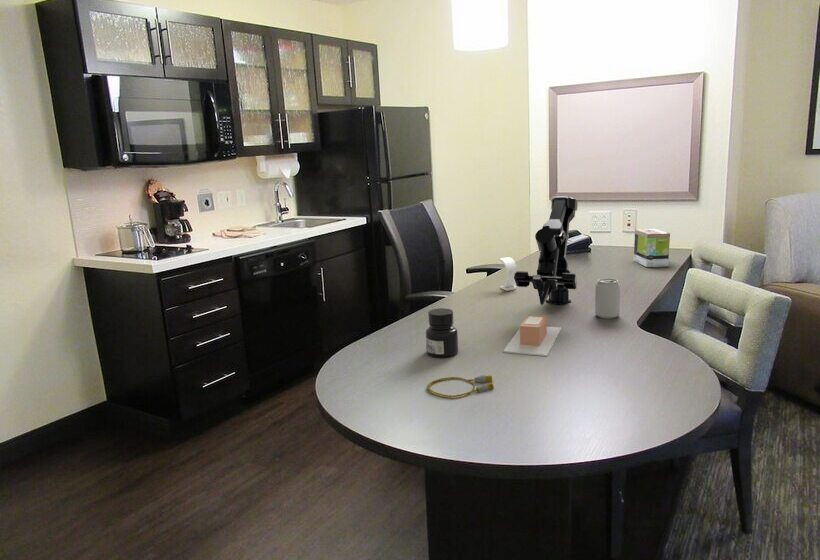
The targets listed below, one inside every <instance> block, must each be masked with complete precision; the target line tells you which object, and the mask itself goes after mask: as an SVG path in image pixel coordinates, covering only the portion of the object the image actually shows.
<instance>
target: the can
mask: <svg viewBox="0 0 820 560" xmlns="http://www.w3.org/2000/svg"><path fill="white" fill-rule="evenodd" d="M594 293H595V296H594V297H595V298H594V299H595V301H594V302H595V304H594V306H595V307H594V314H595V315H596V316H597V317H598V318H601V319H607V320H609V319H617V317H618V316H619V315H620V309H621V308H620V307H621V306H620V305H621V304H620V303H621V284H620V283H619V280H618V279H616V278H613V277H611V278H610V277H605V278H599V279H598V280H597V282H596V283H595V292H594Z"/></svg>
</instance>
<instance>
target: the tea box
mask: <svg viewBox="0 0 820 560" xmlns="http://www.w3.org/2000/svg"><path fill="white" fill-rule="evenodd" d="M670 240H671V233H670V232H668V231H666V230H665V231H664V230H661V229H659V228H646V229H645V228H640V229H638V228H637V229H635V230H634V244H633V245H634V248H633V261H634V262H636V263H638V264H640V265H642V266H644V267H646V268H661V267H664V268H665V267H668V266H669V260H670V258H669V257H670Z"/></svg>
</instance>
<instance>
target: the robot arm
mask: <svg viewBox="0 0 820 560" xmlns="http://www.w3.org/2000/svg"><path fill="white" fill-rule="evenodd" d="M550 208H551V212H550V215H549V219H548V221H546V222H545V223H543V225H542V227H541V228H540V229H539V230H538V231H537V232H536V233H535V235H534V236H535V237H534V238H535V241H536V244H537V248H538V251H540V252H539V258H538V263H537V264H538V265H537V269H536V274H533V275H529V272H528V271H521V270H520V271H519V270H518V271H517V272H516V273H515V274H514V280H515V282H516V284H515V286H516V287H518V288H519V287H520V288H528V287H529V286H530V284H531V283H532V287H533V289H534V290H536V291H537V293H538V297H539V303H540V305H544V304H545V302H547V303H550V304H552V305H553V304H554V305H558V306H560V305H563V304H567V303H571V302H572V300H571V299H569V298H570V296H569V292H570V291H569V290H576V289H577V287H578V281H577V275H576V273H574V272H571V269H570V266H569V264H568V261H567V259H566V257H567V249H568V241H569V240H568V239H569V230H570V222H572V220H573V219H574V218H575V217H576V211H578V200H577V199H576V198H574V197H569V196H565V195H564V196H563V195H561V196H559V195H557V196H556V195H555V196H553V198H552V199H551V207H550Z"/></svg>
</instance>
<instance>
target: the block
mask: <svg viewBox="0 0 820 560" xmlns="http://www.w3.org/2000/svg"><path fill="white" fill-rule="evenodd" d="M547 317H548V316H547V315H539V314H538V315H537V314H536V315H535V314H527V316H526V317H525V319H524V320H523V321H522V322H521V324H520V325H519V329H520V344H521V345H533V346H540V345H541V343H542V341H543V339H544V338H545V336H546V334H547V327H548V318H547Z"/></svg>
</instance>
